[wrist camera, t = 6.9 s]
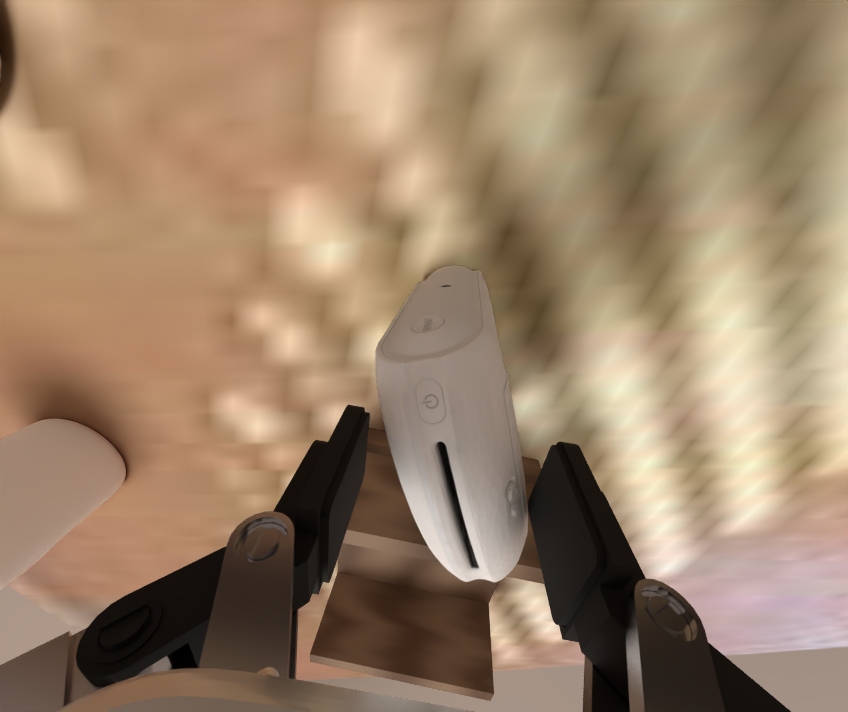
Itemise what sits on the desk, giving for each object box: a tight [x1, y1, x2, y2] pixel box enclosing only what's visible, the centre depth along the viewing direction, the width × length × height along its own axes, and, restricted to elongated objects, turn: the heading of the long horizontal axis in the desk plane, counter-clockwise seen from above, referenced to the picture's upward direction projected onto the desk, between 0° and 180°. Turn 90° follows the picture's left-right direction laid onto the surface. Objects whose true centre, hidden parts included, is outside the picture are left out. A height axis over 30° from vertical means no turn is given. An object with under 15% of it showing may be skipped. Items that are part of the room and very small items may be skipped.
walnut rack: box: [310, 428, 545, 700], centre depth 25 cm, size 14×18×8 cm
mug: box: [0, 419, 126, 590], centre depth 25 cm, size 9×12×11 cm
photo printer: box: [376, 265, 528, 582], centre depth 15 cm, size 10×4×12 cm, turn 13°
